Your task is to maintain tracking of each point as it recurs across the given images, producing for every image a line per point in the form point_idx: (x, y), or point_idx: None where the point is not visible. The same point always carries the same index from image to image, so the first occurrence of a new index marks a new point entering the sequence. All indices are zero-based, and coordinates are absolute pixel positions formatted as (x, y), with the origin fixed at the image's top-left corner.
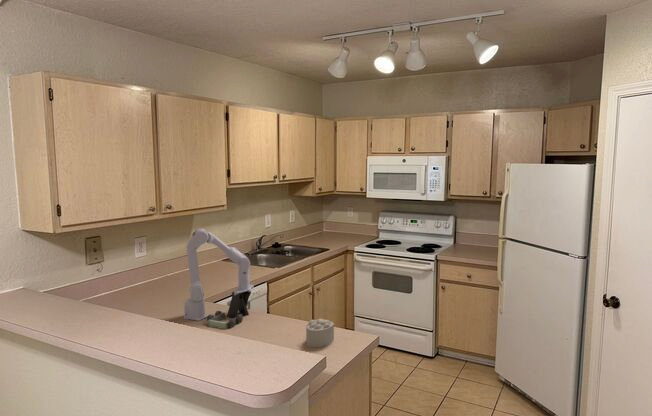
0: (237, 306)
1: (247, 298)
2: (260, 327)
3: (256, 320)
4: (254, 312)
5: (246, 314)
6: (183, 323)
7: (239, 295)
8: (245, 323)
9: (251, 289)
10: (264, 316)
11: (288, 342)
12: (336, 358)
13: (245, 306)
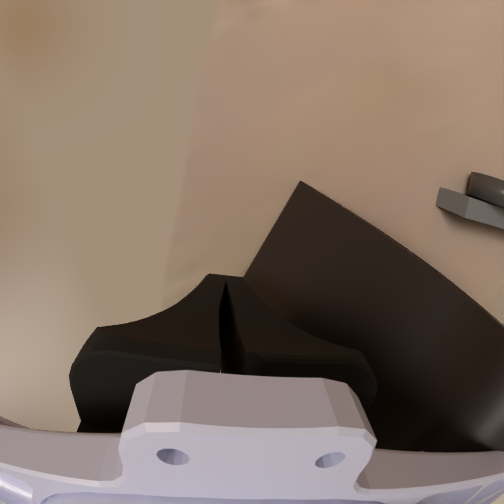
0: (474, 300)
1: (217, 314)
2: (500, 13)
3: (413, 53)
4: (198, 154)
5: (328, 197)
6: None
7: (428, 431)
8: (483, 133)
9: (172, 392)
10: (291, 4)
11: None
12: None
13: (379, 231)
